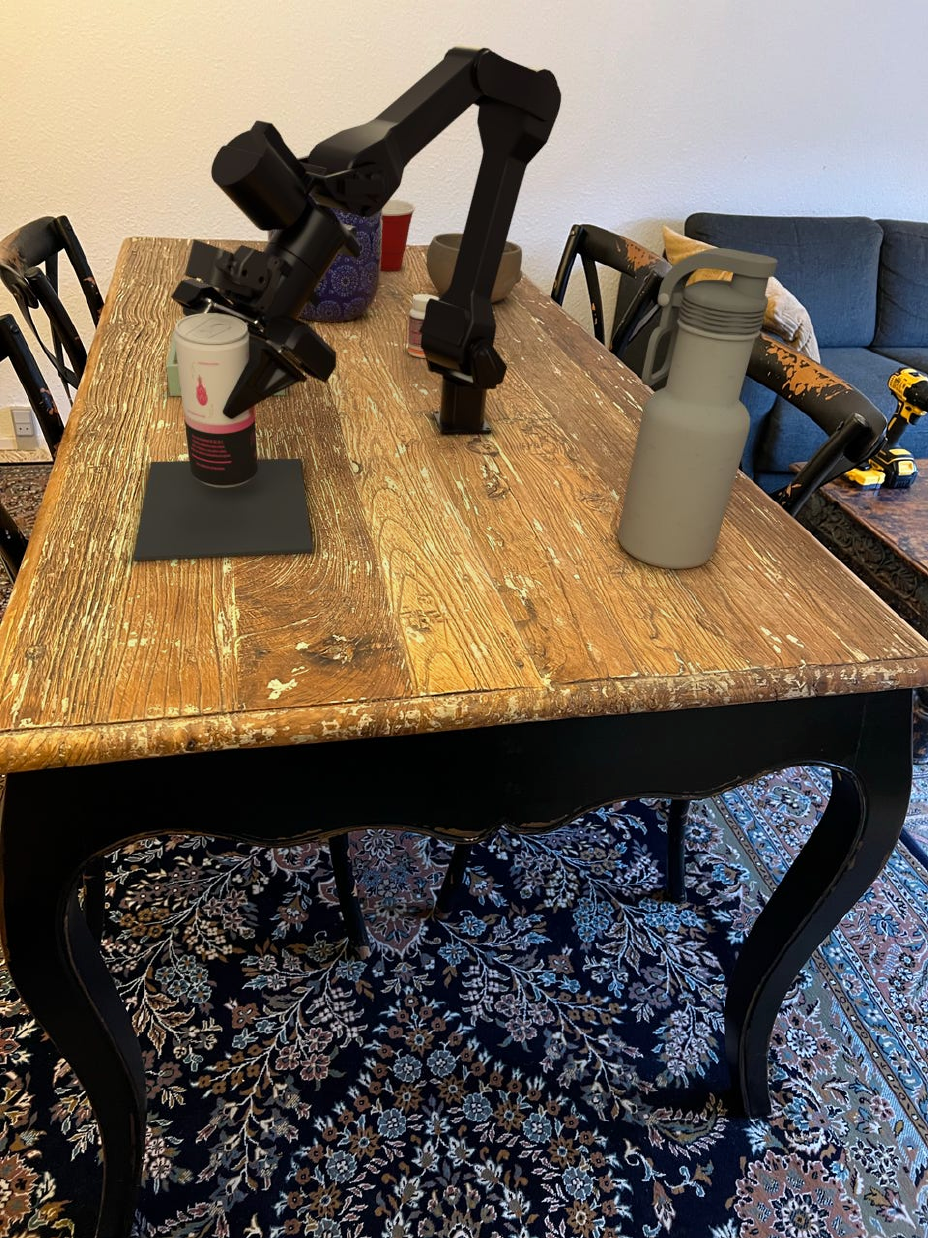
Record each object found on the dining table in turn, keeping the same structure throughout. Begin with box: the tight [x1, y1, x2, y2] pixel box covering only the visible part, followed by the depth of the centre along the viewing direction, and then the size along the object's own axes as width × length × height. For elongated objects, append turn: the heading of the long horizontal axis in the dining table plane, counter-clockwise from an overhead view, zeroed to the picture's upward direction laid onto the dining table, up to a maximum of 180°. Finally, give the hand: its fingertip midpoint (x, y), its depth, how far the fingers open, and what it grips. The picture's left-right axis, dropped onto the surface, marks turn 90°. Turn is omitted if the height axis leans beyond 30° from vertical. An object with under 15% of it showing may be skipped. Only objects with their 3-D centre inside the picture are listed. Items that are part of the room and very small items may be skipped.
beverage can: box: [174, 313, 259, 488], centre depth 79 cm, size 6×6×15 cm
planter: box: [266, 193, 383, 323], centre depth 137 cm, size 18×18×21 cm
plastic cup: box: [380, 198, 416, 272], centre depth 169 cm, size 11×11×12 cm
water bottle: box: [617, 247, 779, 570], centre depth 77 cm, size 10×10×28 cm
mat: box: [132, 458, 314, 562], centre depth 85 cm, size 20×16×1 cm
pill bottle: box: [407, 293, 440, 359], centre depth 127 cm, size 5×5×8 cm
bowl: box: [425, 232, 523, 304], centre depth 155 cm, size 17×18×10 cm
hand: (204, 404), depth 78 cm, fingers closed on beverage can, 6 cm apart
